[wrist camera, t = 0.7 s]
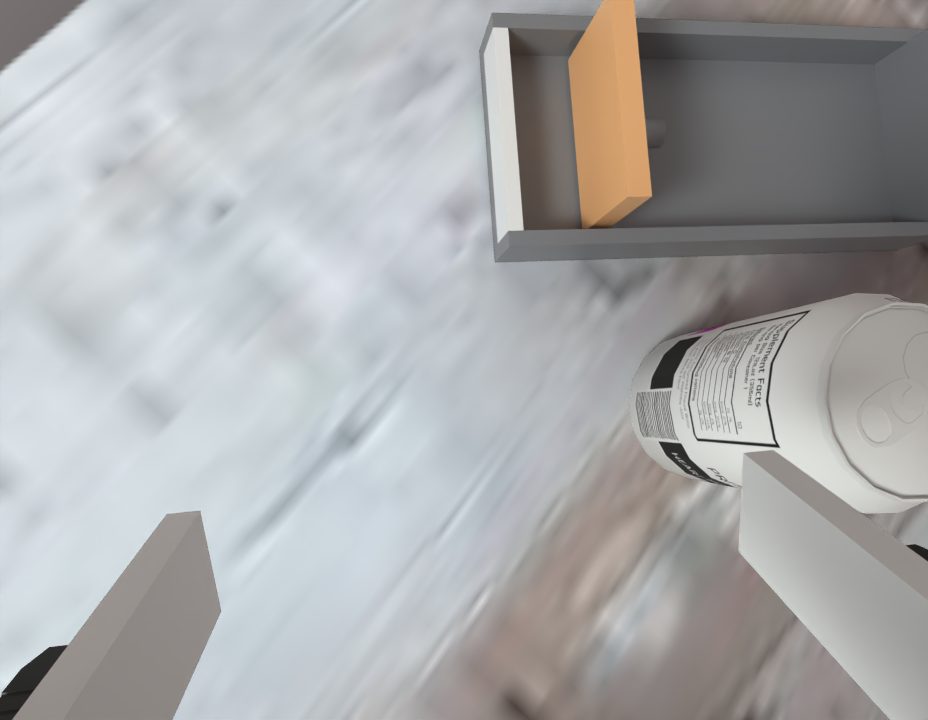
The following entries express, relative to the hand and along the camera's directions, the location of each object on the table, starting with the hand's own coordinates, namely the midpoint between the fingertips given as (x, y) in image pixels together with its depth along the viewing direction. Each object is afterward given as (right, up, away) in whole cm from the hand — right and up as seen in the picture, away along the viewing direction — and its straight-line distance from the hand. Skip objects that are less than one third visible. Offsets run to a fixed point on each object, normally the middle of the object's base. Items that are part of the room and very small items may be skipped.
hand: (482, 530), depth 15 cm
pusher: (+8, +16, +21) cm, 27 cm away
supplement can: (+13, +1, +22) cm, 25 cm away
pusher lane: (+14, +17, +23) cm, 31 cm away
